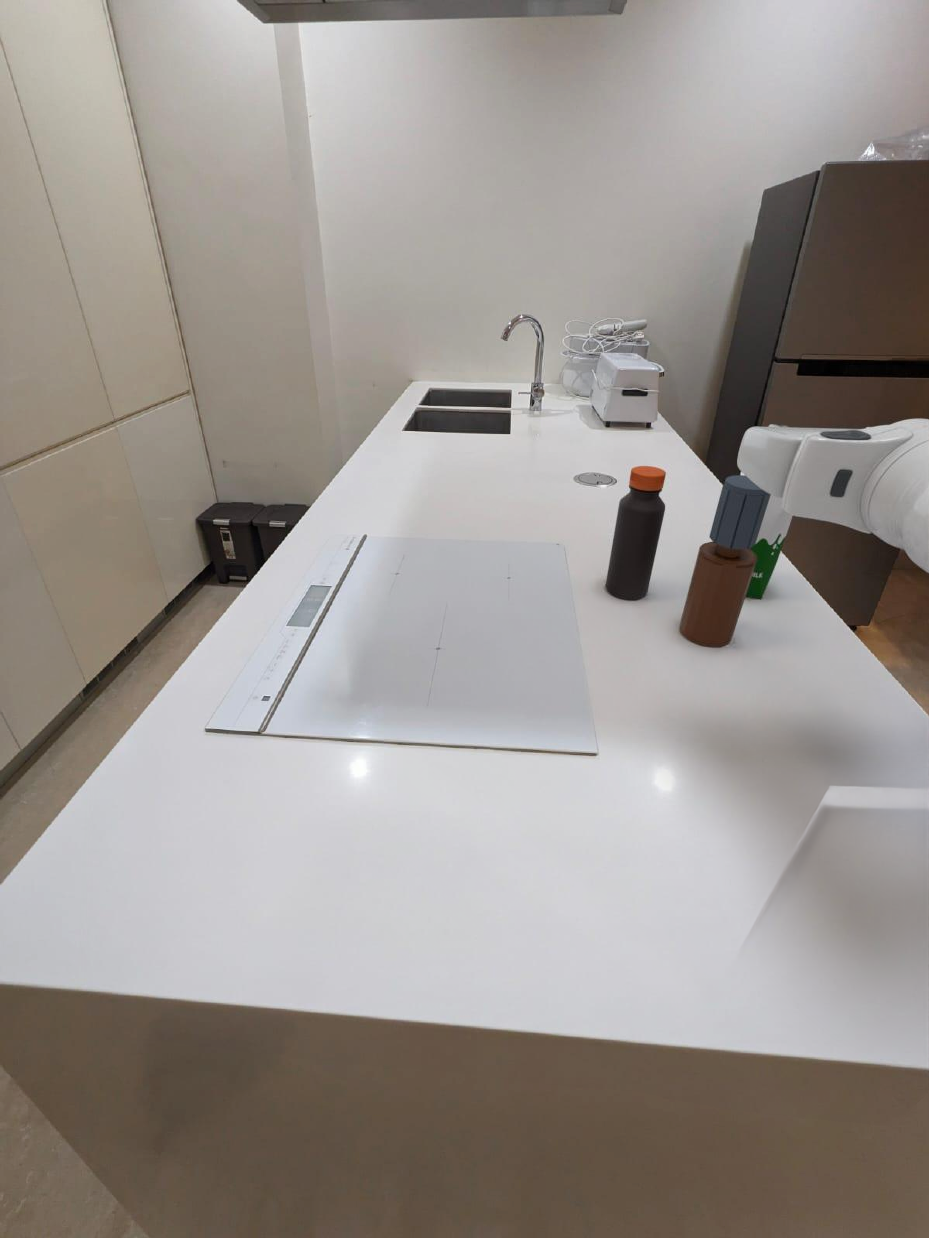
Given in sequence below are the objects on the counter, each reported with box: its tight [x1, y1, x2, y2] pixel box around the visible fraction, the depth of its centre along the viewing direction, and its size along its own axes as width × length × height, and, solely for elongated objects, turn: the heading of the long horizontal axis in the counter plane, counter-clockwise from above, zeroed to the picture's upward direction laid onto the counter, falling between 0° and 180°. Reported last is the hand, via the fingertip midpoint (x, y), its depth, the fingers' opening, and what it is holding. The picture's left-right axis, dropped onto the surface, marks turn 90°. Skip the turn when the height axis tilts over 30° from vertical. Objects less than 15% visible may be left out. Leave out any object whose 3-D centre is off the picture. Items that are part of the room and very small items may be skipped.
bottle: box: [679, 541, 757, 648], centre depth 79 cm, size 7×7×22 cm
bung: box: [708, 474, 771, 549], centre depth 75 cm, size 5×5×8 cm
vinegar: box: [605, 465, 667, 600], centre depth 90 cm, size 7×7×20 cm
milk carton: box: [739, 471, 794, 600], centre depth 92 cm, size 9×9×20 cm
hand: (821, 433), depth 57 cm, fingers open, 8 cm apart
